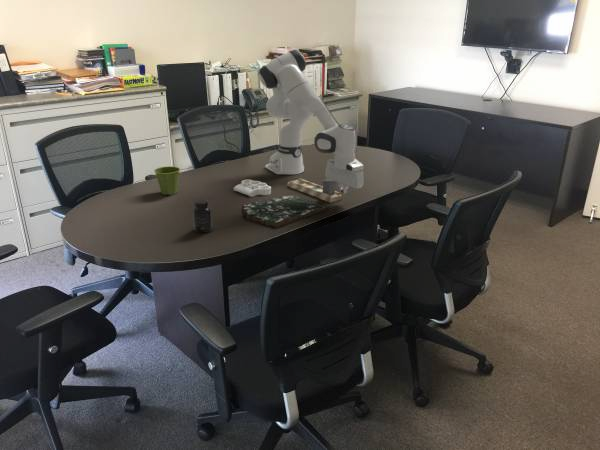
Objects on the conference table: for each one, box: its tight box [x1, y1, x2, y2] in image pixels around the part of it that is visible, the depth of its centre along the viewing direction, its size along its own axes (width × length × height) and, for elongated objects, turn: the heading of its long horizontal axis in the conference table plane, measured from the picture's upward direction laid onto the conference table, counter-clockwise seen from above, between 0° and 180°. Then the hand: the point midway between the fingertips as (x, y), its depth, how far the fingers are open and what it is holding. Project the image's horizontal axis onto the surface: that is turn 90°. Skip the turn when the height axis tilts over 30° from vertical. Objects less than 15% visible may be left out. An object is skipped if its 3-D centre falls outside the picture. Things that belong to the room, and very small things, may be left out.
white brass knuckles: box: [233, 179, 272, 198], centre depth 242 cm, size 3×18×15 cm
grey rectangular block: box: [322, 178, 336, 195], centre depth 231 cm, size 4×4×6 cm
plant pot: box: [153, 166, 181, 196], centre depth 236 cm, size 12×12×11 cm
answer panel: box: [287, 177, 343, 203], centre depth 240 cm, size 30×7×3 cm, turn 41°
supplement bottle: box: [192, 199, 213, 234], centre depth 196 cm, size 7×7×12 cm
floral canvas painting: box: [241, 193, 328, 229], centre depth 218 cm, size 26×33×3 cm
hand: (343, 192), depth 225 cm, fingers closed
